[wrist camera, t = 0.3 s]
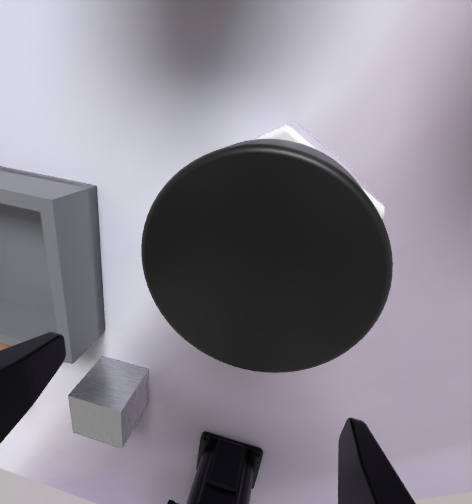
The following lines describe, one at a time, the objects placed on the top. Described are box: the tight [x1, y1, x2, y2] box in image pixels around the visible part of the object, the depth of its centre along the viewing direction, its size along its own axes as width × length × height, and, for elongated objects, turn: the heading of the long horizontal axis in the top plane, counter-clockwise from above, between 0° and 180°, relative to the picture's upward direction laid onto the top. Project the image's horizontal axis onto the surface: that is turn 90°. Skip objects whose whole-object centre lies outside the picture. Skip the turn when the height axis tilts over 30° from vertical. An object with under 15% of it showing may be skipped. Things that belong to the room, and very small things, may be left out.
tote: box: [0, 166, 105, 364], centre depth 25 cm, size 14×14×4 cm
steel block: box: [68, 356, 149, 449], centre depth 29 cm, size 5×5×5 cm
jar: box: [142, 122, 393, 373], centre depth 15 cm, size 9×8×12 cm
